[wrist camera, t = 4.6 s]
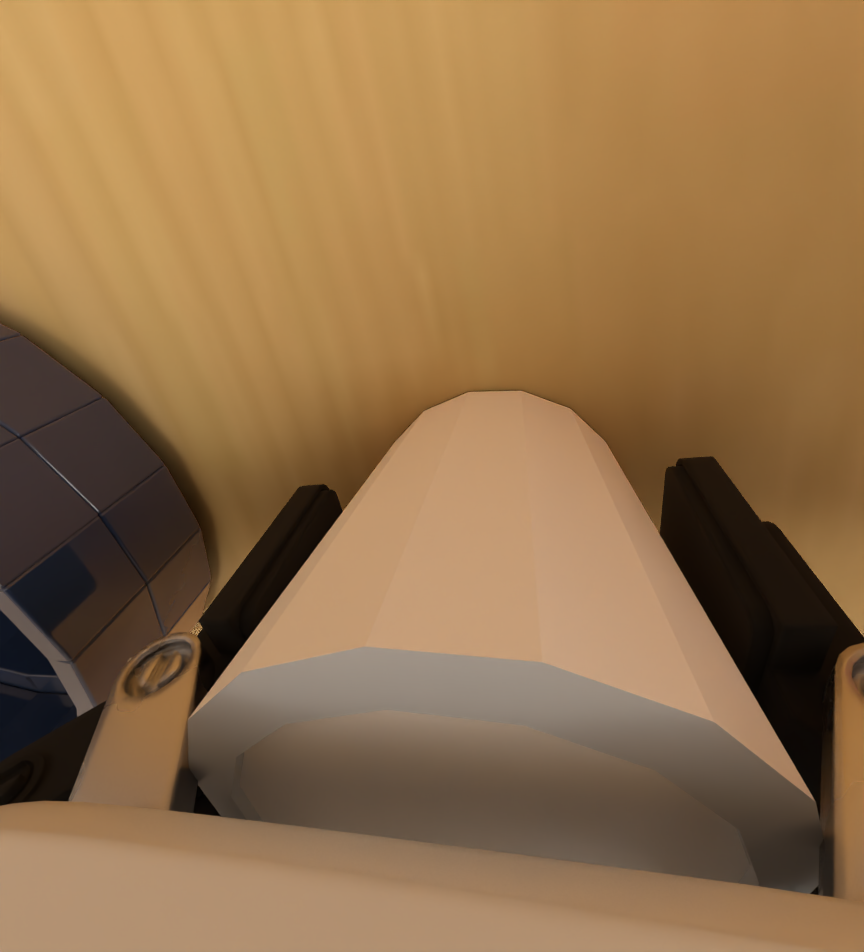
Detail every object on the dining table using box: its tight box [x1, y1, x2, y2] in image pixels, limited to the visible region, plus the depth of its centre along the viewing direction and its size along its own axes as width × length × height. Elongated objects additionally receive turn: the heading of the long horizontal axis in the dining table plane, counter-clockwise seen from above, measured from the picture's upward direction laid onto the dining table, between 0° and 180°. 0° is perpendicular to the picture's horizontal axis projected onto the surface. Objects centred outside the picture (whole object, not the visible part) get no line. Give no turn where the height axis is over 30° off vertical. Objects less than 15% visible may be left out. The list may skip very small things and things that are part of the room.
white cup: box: [188, 391, 823, 894], centre depth 8 cm, size 7×7×7 cm
